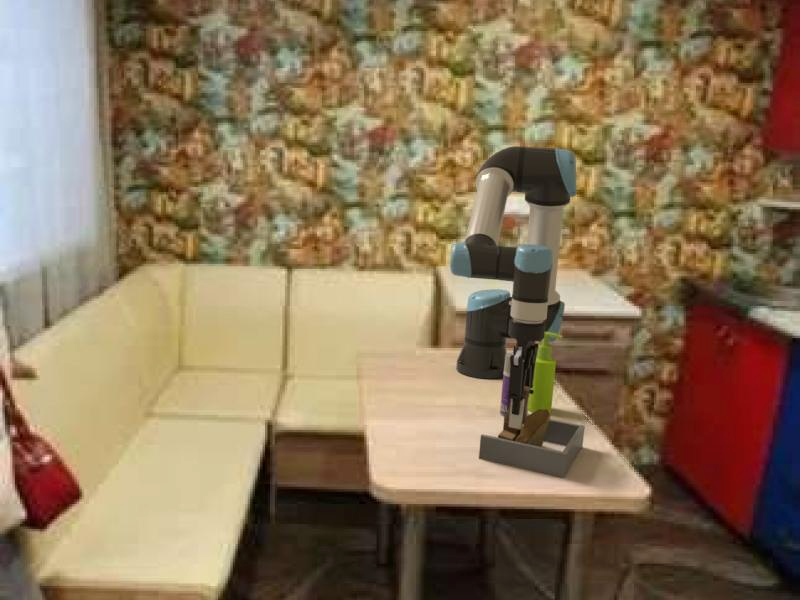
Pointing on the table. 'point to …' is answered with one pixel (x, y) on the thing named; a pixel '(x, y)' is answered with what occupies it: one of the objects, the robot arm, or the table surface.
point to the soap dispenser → (543, 376)
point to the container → (505, 385)
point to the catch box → (537, 449)
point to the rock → (534, 428)
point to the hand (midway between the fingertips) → (517, 424)
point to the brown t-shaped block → (508, 431)
